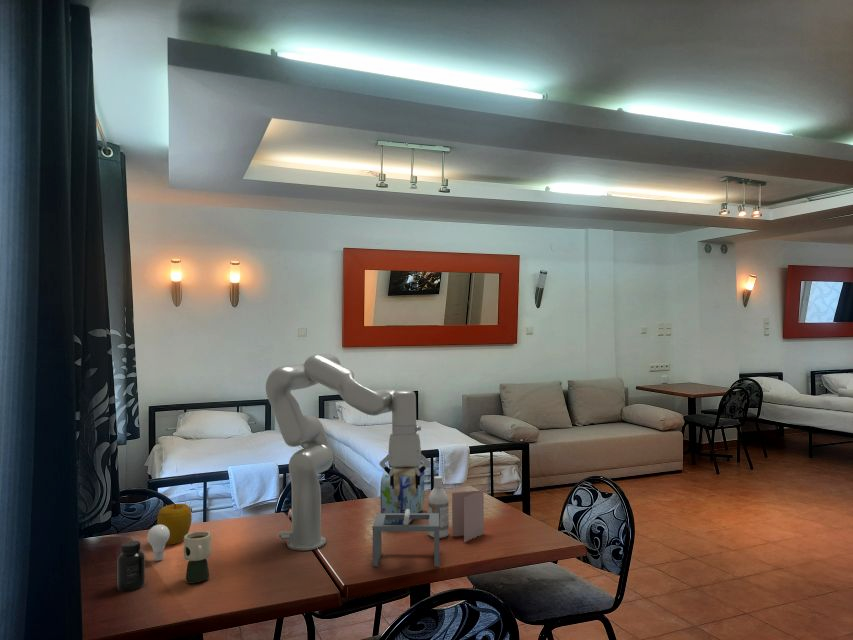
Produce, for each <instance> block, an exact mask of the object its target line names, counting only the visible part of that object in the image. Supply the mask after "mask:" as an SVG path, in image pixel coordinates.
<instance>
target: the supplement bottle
mask: <svg viewBox="0 0 853 640" xmlns="http://www.w3.org/2000/svg"><path fill="white" fill-rule="evenodd" d="M120 547H121V550H120V552H121V553H120V554H119V555H118V556H117V561H116V562H117V564H116V565H117V567H116V569H117V572H116V573H117V574H116V575H117V577H116V578H117V589H118V590H119V591H120V592H131V591H132V592H133V591H135V590H136V591H137V590H139V589H140V588H143V586H144V585H145V581H146V580H145V579H146V578H145V577H146V575H145V565H146V564H145V552H143V551H142V550H141V548H142V547H141V541H139V540H130V541H126V542H124V543H121V546H120Z"/></svg>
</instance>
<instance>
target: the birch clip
mask: <svg viewBox="0 0 853 640" xmlns="http://www.w3.org/2000/svg"><path fill="white" fill-rule="evenodd" d="M400 476H410V486H411V496H416V479H415V476H416V472H415V468H414V467H400V468H394V496H399V493H400Z"/></svg>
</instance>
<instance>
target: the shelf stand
mask: <svg viewBox="0 0 853 640" xmlns="http://www.w3.org/2000/svg"><path fill="white" fill-rule="evenodd" d="M387 519H404V522H403V524H404V525H397V524H396V525H394V524H385V520H387ZM409 519H413V520H428V524H410V523H409ZM429 531H434V537H433V538H434V539H433V543H434V544H433V549H434V550H433V552H434V553H433V555H434V557H433V558H434V563H433V564H434V568H435V567H437V568H438V567H439V568H440V538H439V513H428V512H427V513H426V512H425V513H421V512H419V513H410V510H409V509H406V510H405V513H381V512H379V513H376V515H375V518H374V521H373V524H372V567H373V566H378V567H379V564H378V563H380V560H381V559H380V558H381V555H382V546H383V545H382V543H383V542H382V532H393V533H394V532H397V533H398V532H429ZM379 559H380V560H379Z"/></svg>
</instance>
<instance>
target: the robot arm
mask: <svg viewBox="0 0 853 640" xmlns="http://www.w3.org/2000/svg"><path fill="white" fill-rule="evenodd" d="M318 384H321V385H322V386H324V387H326V388H328V389H330V390H331V391H333V392H335V393H336V394H338V395H339V396H340V397H341V399H342V400H343V401H344V403H346V404H348V406H350V407H352V408H354V409H356V410H358V411H359V412H361V413H363V414H366V415H369V416H373V417H374V416H375V417H376V416H379V415H382V414H386V413H390V412H391V423H392V424H391V429H392V431H391V432H392V433H390V435H389V440H388V441H389V442H388V454H387V455H386V456H385V457H384V458H383V459H381V461H379V466H380V467H381V468H382V469H383V470H384V472H385V471H386V472H387V473H388V474H389V476H390V486H392V489H394V468H400V467H414V468H415V472H416V476H415V479H416V489H418V485H420V475H421V473H422V472H423V471H424V472H425V471H426V469H427V468H428V467H429V466H430V464H431V461H430V460H429V459H428V458H426V457H425V455H423V454H422V448H421V439H420V435H419V433H417V432H419V431H422V427H421V425H420V426H419V425H417V398H416V393H415V391H414V390H408V389H401V390H400V389H399V390H397V389H396V390H394V389H390V388H380V389H376V390H371V389H369V388H368V387H365V386H363V385H362V384H360V383H358V381H356V380H355V374H354V371H352V370H351V369H349V368H347V367H346V366H343V365H342V363H341V361H340V359H339V358H338V357H337V356H336V355H334V354H331V353H320V354H319V353H318V354H313V355H311V356H309V357H307V358H306V359H305V361H304V363H299V364H289V365H282V366H278V367H277V368H275V369H274V370H272V371H271V372H270V373H269V374H268V377H267V379H266V381H265V394H266V398H267V399H268V403H269V405H270V406H271V409H272V410H273V414H274V417H275V419H276V421H277V425H278V429H279V431H280V434H281V437H282V438H283V441H284V443H285V444H286V445H287V446H288V447H293V448H296V447H300V446H302V445H303V446H304V448H301V449H300V450H297V451H296V452H294V453H293V454H292V456H291V457H290V458H289V462H288V472H289V478H290V483H291V484H290V485H291V529H290V530H288V531H286V530H285V531H284V530H282V531H281V530H280V531H278V532H279V533H278V537H279V538H280V539H281V540H287V542H286V545H287V548H288V549H290V550H294V551H300V552H301V551H304V552H305V551H312V550H316V548H317V547H320V546H322V545H323V546H325V545H326V543H327V539H326V538H325V536H322V494H321V493H322V489H321V484H320V480H319V478H318V475H319V474H321V473H324V472H325V471H328V470H329V469H330V468H331V466H332V465H333V463H334V453H333V450H332V447H331V443H330V442H329V439H328V436H327V433H326V431H325V428H324V425H323V423H322V422H321V421H320V419H318V418H317V417H316V416H314V415H312V414H306V415H305V414H304V415H303V412H302V410H301V407H300V404H299V402H298V401H297V399H296V398H295V396H294V395H293V394H292V392H291V391H294V390H301V389H306V388H309V387H312V386H315V385H318ZM387 462H388V466H387V464H386V463H387ZM421 462H423V466H422V467H421V468H420V469H419V466H420V464H421ZM390 468H391V469H390ZM324 544H325V545H324ZM323 546H322V547H323ZM320 548H321V547H320ZM317 549H318V548H317Z"/></svg>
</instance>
